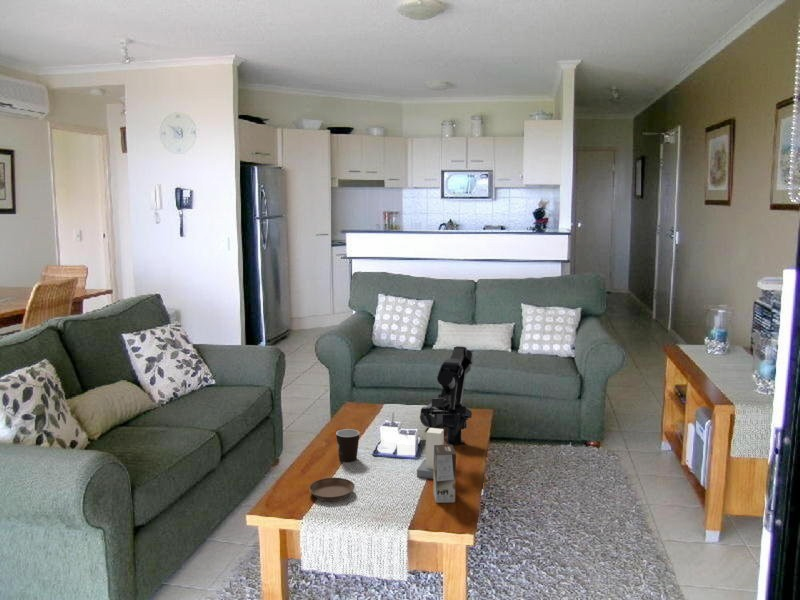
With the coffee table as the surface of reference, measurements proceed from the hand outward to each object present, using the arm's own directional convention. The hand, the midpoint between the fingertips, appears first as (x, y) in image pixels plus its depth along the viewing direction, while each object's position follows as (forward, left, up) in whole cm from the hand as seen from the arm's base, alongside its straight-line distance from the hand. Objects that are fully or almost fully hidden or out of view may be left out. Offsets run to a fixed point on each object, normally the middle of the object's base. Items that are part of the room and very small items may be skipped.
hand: (443, 435), depth 248 cm
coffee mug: (-15, -31, -11) cm, 36 cm away
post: (+8, -6, -8) cm, 13 cm away
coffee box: (+27, -10, -11) cm, 31 cm away
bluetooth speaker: (-43, +16, -11) cm, 47 cm away
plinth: (+8, -6, -10) cm, 15 cm away
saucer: (+14, -44, -11) cm, 48 cm away
